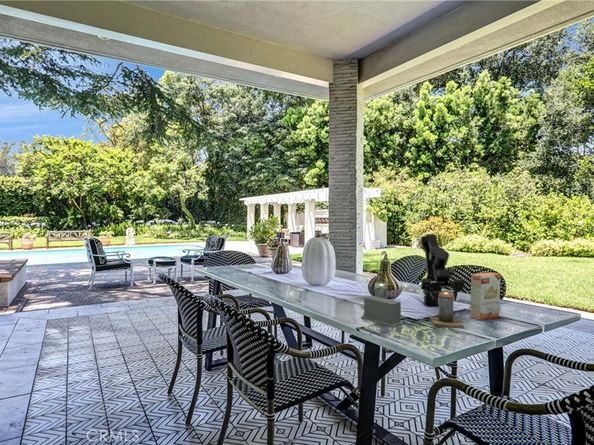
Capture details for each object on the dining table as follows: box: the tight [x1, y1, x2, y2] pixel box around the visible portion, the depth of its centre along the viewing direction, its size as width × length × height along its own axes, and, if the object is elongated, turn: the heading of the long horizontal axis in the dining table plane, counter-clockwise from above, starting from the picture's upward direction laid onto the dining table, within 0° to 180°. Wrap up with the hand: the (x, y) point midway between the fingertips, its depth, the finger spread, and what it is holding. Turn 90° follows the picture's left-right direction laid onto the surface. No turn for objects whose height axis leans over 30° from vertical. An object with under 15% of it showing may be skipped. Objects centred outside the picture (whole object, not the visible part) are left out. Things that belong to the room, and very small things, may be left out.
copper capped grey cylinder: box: [438, 290, 454, 323], centre depth 168 cm, size 6×6×13 cm
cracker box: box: [469, 272, 501, 321], centre depth 177 cm, size 14×6×21 cm, turn 117°
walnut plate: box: [428, 316, 465, 329], centre depth 168 cm, size 12×12×1 cm
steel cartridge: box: [374, 282, 388, 299], centre depth 193 cm, size 6×6×13 cm
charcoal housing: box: [360, 295, 405, 328], centre depth 172 cm, size 8×18×10 cm, turn 41°
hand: (444, 300), depth 170 cm, fingers open, 9 cm apart
